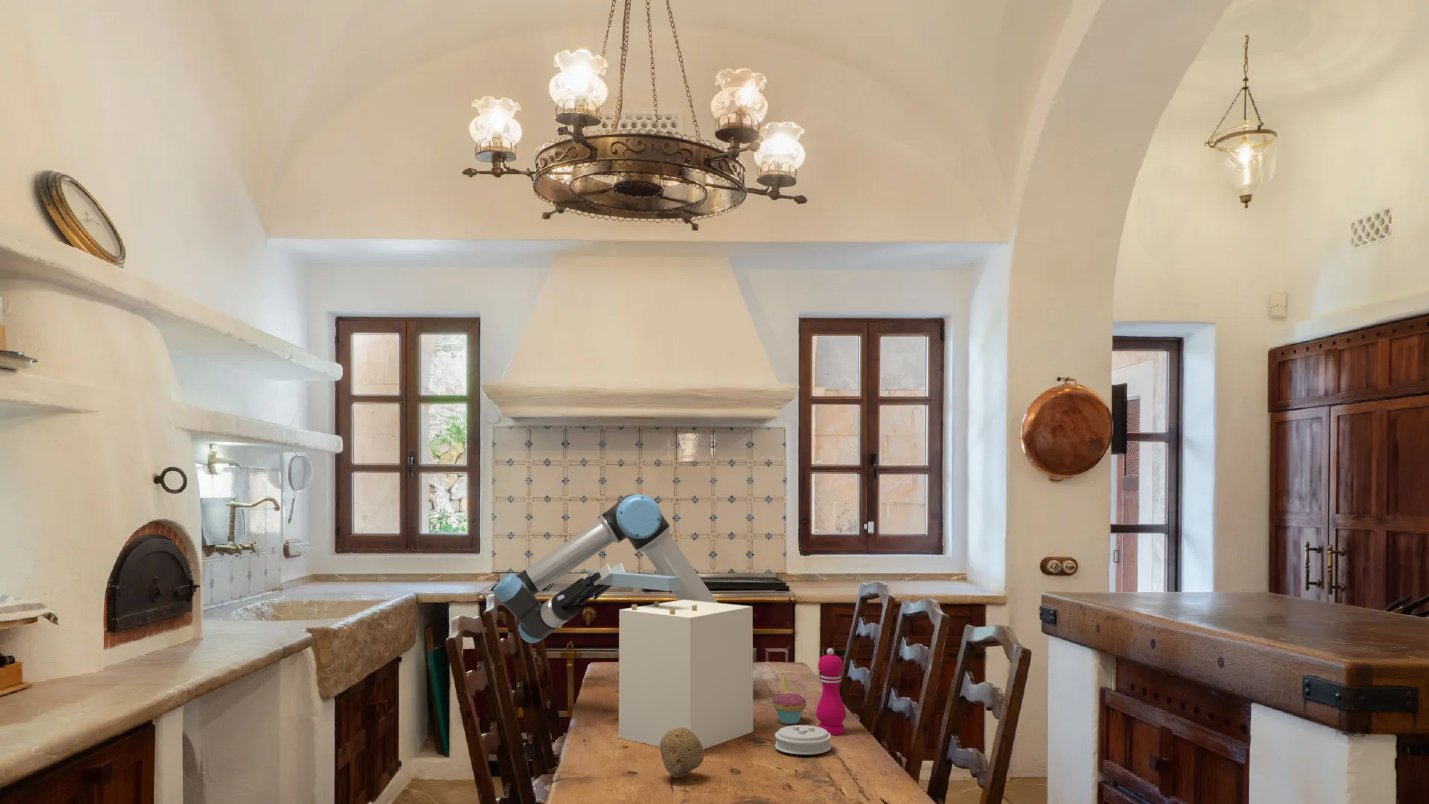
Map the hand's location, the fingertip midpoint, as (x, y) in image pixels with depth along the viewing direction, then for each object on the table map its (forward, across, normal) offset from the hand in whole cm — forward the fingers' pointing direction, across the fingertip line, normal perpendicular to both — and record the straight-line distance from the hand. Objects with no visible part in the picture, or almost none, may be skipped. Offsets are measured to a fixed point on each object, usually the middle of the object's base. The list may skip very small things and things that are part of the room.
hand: (615, 568), depth 245 cm
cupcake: (+9, -30, -50) cm, 59 cm away
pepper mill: (+21, -28, -57) cm, 67 cm away
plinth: (-1, -4, -44) cm, 44 cm away
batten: (+3, 0, -6) cm, 7 cm away
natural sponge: (+17, +22, -55) cm, 61 cm away
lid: (+23, -11, -59) cm, 64 cm away
